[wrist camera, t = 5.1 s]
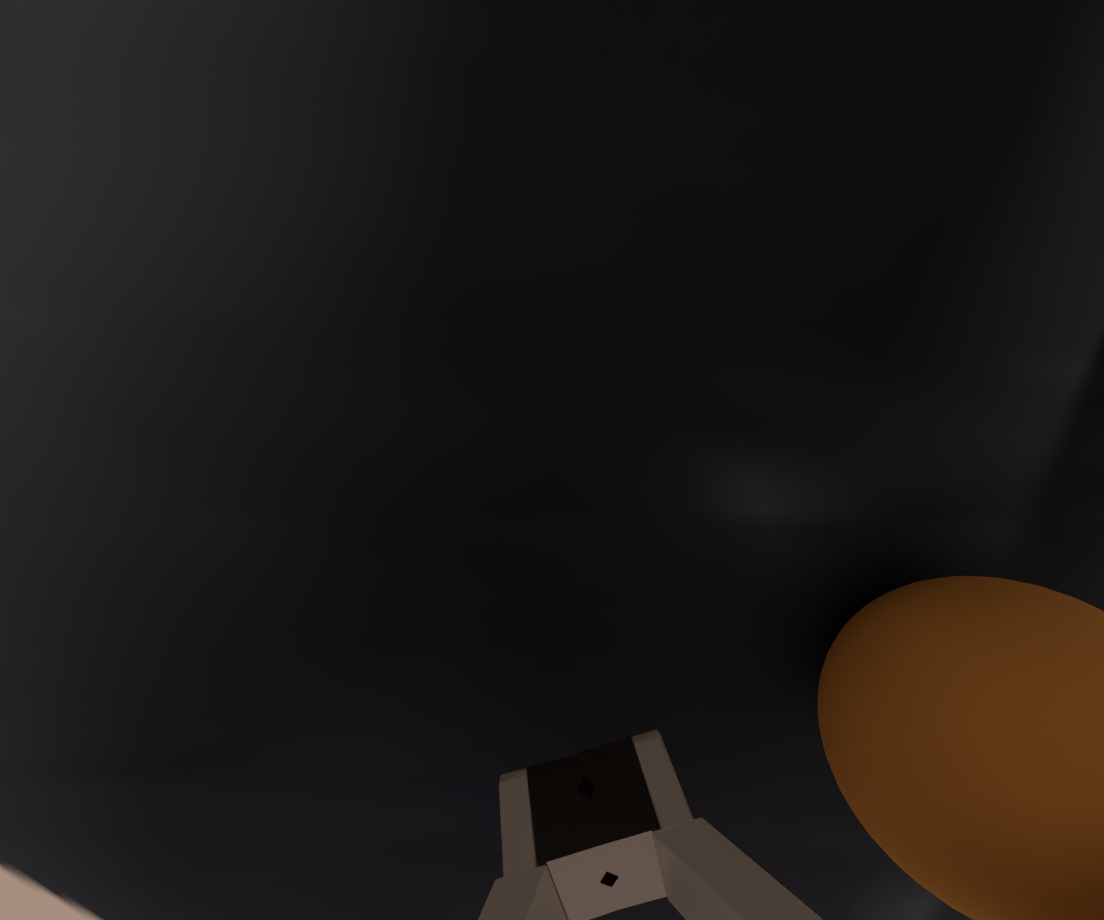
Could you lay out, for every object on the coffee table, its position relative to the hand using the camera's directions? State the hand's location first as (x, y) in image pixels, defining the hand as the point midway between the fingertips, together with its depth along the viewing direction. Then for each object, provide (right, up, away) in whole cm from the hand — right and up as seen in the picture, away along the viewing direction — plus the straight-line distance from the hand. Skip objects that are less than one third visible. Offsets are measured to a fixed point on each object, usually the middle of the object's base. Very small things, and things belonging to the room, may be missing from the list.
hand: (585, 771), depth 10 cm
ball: (+7, +1, -1) cm, 7 cm away
